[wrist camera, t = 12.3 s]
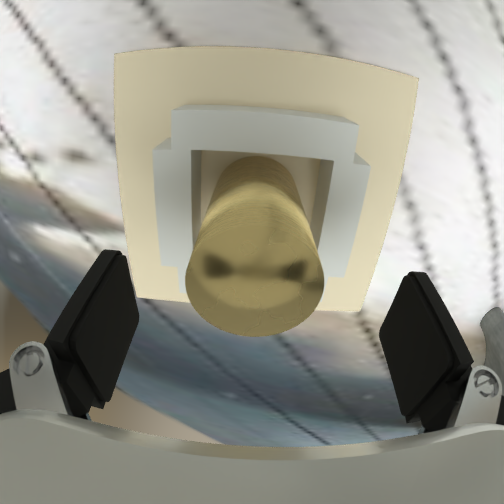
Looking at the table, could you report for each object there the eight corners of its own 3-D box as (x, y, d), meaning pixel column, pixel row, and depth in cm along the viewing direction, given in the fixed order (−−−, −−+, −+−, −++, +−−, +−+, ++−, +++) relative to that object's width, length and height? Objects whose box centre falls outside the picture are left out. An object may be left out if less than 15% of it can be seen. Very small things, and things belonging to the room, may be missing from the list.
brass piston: (215, 154, 17) (180, 222, 10) (301, 159, 17) (337, 231, 10) (214, 229, 20) (190, 332, 12) (291, 233, 20) (311, 338, 12)
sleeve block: (121, 54, 14) (89, 52, 11) (411, 77, 15) (444, 81, 11) (140, 289, 24) (125, 323, 21) (357, 303, 24) (368, 338, 21)
